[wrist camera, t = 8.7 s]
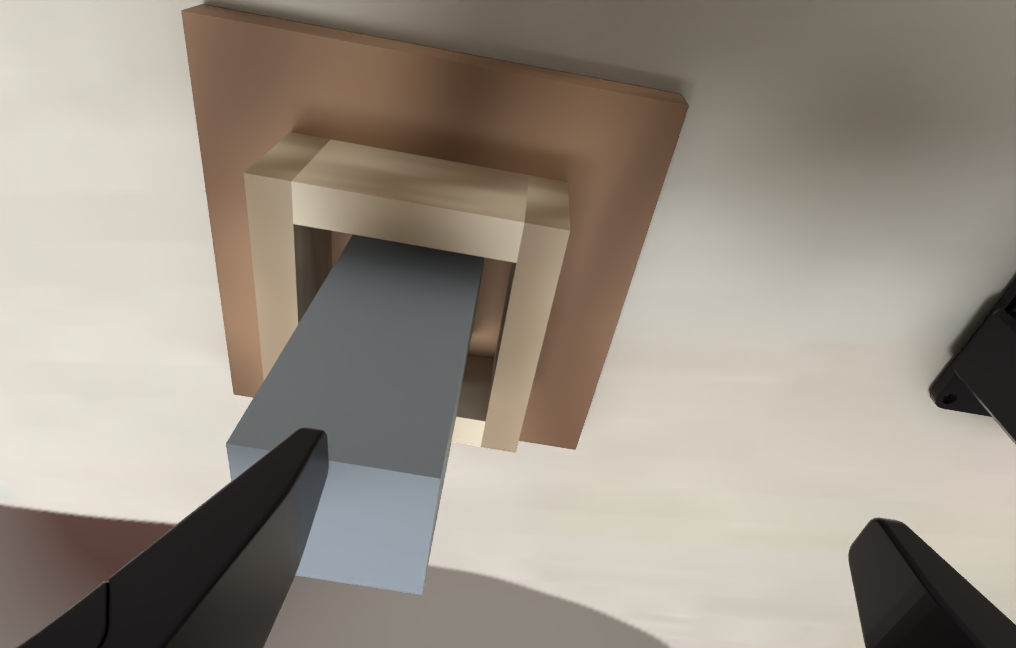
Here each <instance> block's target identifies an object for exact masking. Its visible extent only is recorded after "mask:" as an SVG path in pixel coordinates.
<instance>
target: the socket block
mask: <svg viewBox="0 0 1016 648" xmlns="http://www.w3.org/2000/svg"><path fill="white" fill-rule="evenodd" d="M181 11H182V19H183V26H184V33H185V41H186V48H187V55H188V63H189V70H190V77H191V85H192V92H193V99H194V107H195V114H196V121H197V129H198V136H199V143H200V151H201V158H202V165H203V173H204V180H205V188H206V195H207V202H208V210H209V217H210V224H211V232H212V239H213V246H214V254H215V261H216V268H217V276H218V283H219V290H220V298H221V305H222V312H223V320H224V327H225V334H226V342H227V349H228V356H229V364H230V371H231V378H232V386H233V393H234V394H235V395H241V396H247V397H253V398H254V397H255V395H256V393H257V392H258V390H259V388H260V387H261V385H262V383H263V382H264V380H265V379H266V377H267V375H268V374H269V372H270V370H271V369H272V367H273V365H274V364H275V362H276V360H277V359H278V357H279V355H280V354H281V352H282V350H283V349H284V347H285V346H286V344H287V342H288V341H289V339H290V337H291V336H292V334H293V332H294V331H295V329H296V327H297V326H298V324H299V322H300V321H301V319H302V317H303V316H304V314H305V313H306V311H307V309H308V308H309V306H310V304H311V303H312V301H313V299H314V298H315V296H316V294H317V293H318V291H319V289H320V288H321V286H322V284H323V283H324V281H325V280H326V278H327V276H328V275H329V273H330V271H331V270H332V268H333V266H334V265H335V263H336V261H337V260H338V258H339V256H340V255H341V253H342V251H343V250H344V248H345V246H346V245H347V243H348V242H349V240H350V238H351V237H352V235H353V234H354V235H360V236H365V237H371V238H377V239H382V240H388V241H394V242H400V243H405V244H411V245H417V246H423V247H428V248H434V249H440V250H446V251H451V252H457V253H463V254H468V255H474V256H480V257H485V260H484V266H483V272H482V278H481V283H480V289H479V295H478V301H477V307H476V313H475V319H474V325H473V331H472V337H471V342H470V347H469V352H468V357H467V363H466V368H465V373H464V378H463V384H462V389H461V394H460V399H459V405H458V410H457V415H456V420H455V425H454V431H453V436H452V441H451V442H454V443H460V444H466V445H472V446H479V447H485V448H491V449H497V450H503V451H510V452H516V449H517V445H518V441H525V442H531V443H537V444H543V445H549V446H555V447H562V448H568V449H574V450H576V447H577V444H578V441H579V438H580V435H581V432H582V429H583V426H584V423H585V420H586V417H587V413H588V410H589V407H590V404H591V401H592V398H593V395H594V392H595V389H596V386H597V383H598V380H599V377H600V374H601V371H602V368H603V365H604V362H605V359H606V356H607V353H608V350H609V347H610V344H611V340H612V337H613V334H614V331H615V328H616V325H617V322H618V319H619V316H620V313H621V310H622V307H623V304H624V301H625V298H626V295H627V292H628V289H629V286H630V283H631V280H632V277H633V274H634V271H635V267H636V264H637V261H638V258H639V255H640V252H641V249H642V246H643V243H644V240H645V237H646V234H647V231H648V228H649V225H650V222H651V219H652V216H653V213H654V210H655V207H656V204H657V201H658V198H659V195H660V191H661V188H662V185H663V182H664V179H665V176H666V173H667V170H668V167H669V164H670V161H671V158H672V155H673V152H674V149H675V146H676V143H677V140H678V137H679V134H680V131H681V128H682V125H683V122H684V118H685V115H686V112H687V109H688V106H689V105H688V104H687V102H686V101H685V99H684V98H683V96H682V95H681V94H677V93H672V92H667V91H661V90H656V89H651V88H645V87H640V86H635V85H629V84H624V83H619V82H613V81H608V80H603V79H597V78H592V77H587V76H581V75H576V74H571V73H566V72H560V71H555V70H550V69H544V68H539V67H534V66H528V65H523V64H518V63H512V62H507V61H502V60H496V59H491V58H486V57H480V56H475V55H470V54H465V53H459V52H454V51H449V50H443V49H438V48H433V47H427V46H422V45H417V44H411V43H406V42H401V41H395V40H390V39H385V38H380V37H374V36H369V35H364V34H358V33H353V32H348V31H342V30H337V29H332V28H326V27H321V26H316V25H310V24H305V23H300V22H294V21H289V20H284V19H279V18H273V17H268V16H263V15H257V14H252V13H247V12H241V11H236V10H231V9H225V8H220V7H215V6H209V5H204V4H202V5H198V6H195V7H191V8H188V9H185V10H181Z"/></svg>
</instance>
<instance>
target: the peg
mask: <svg viewBox="0 0 1016 648" xmlns="http://www.w3.org/2000/svg"><path fill="white" fill-rule="evenodd" d="M484 260H485V257H480V256H474V255H468V254H463V253H457V252H451V251H446V250H440V249H434V248H428V247H423V246H417V245H411V244H405V243H400V242H394V241H388V240H382V239H377V238H371V237H365V236H360V235H354V234H353V235H352V237H351V238H350V240H349V242H348V243H347V245H346V246H345V248H344V250H343V251H342V253H341V255H340V256H339V258H338V260H337V261H336V263H335V265H334V266H333V268H332V270H331V271H330V273H329V275H328V276H327V278H326V280H325V281H324V283H323V284H322V286H321V288H320V289H319V291H318V293H317V294H316V296H315V298H314V299H313V301H312V303H311V304H310V306H309V308H308V309H307V311H306V313H305V314H304V316H303V317H302V319H301V321H300V322H299V324H298V326H297V327H296V329H295V331H294V332H293V334H292V336H291V337H290V339H289V341H288V342H287V344H286V346H285V347H284V349H283V350H282V352H281V354H280V355H279V357H278V359H277V360H276V362H275V364H274V365H273V367H272V369H271V370H270V372H269V374H268V375H267V377H266V379H265V380H264V382H263V383H262V385H261V387H260V388H259V390H258V392H257V393H256V395H255V397H254V398H253V400H252V402H251V403H250V405H249V407H248V408H247V410H246V412H245V413H244V415H243V416H242V418H241V420H240V421H239V423H238V425H237V426H236V428H235V430H234V431H233V433H232V435H231V436H230V438H229V440H228V441H227V443H226V447H227V453H228V460H229V467H230V474H231V481H233V480H234V479H235V478H236V477H238V476H239V475H240V474H242V473H243V472H244V471H245V470H247V469H248V468H249V467H250V466H252V465H253V464H254V463H255V462H257V461H258V460H259V459H261V458H262V457H263V456H264V455H266V454H267V453H268V452H269V451H271V450H272V449H273V448H275V447H276V446H277V445H278V444H280V443H281V442H282V441H283V440H285V439H286V438H287V437H288V436H290V435H291V434H292V433H294V432H295V431H296V430H298V429H299V428H302V427H306V428H313V429H319V430H323V431H325V432H326V434H327V438H328V457H329V470H328V475H327V479H326V482H325V486H324V489H323V492H322V495H321V498H320V502H319V505H318V508H317V511H316V514H315V518H314V521H313V524H312V527H311V530H310V534H309V537H308V540H307V543H306V546H305V550H304V553H303V556H302V559H301V562H300V565H299V567H298V570H297V572H296V575H297V576H304V577H310V578H317V579H323V580H330V581H336V582H342V583H349V584H355V585H362V586H369V587H375V588H381V589H388V590H394V591H401V592H407V593H413V594H420V595H422V592H423V588H424V582H425V577H426V572H427V567H428V561H429V556H430V551H431V546H432V541H433V535H434V530H435V525H436V520H437V514H438V509H439V504H440V499H441V493H442V488H443V483H444V478H445V473H446V467H447V462H448V457H449V452H450V446H451V441H452V436H453V431H454V425H455V420H456V415H457V410H458V405H459V399H460V394H461V389H462V384H463V378H464V373H465V368H466V363H467V357H468V352H469V347H470V342H471V337H472V331H473V325H474V319H475V313H476V307H477V301H478V295H479V289H480V283H481V278H482V272H483V266H484Z"/></svg>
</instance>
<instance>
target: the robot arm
mask: <svg viewBox="0 0 1016 648" xmlns="http://www.w3.org/2000/svg"><path fill="white" fill-rule="evenodd" d="M948 394H949V395H948ZM946 395H947V396H946ZM930 397H931V399H932V400H933V401H934V403H935V404H936V405H937V406H938V407H940V408H943V409H949V410H955V411H961V412H966V413H972V414H978V415H984V416H990V417H993V418H994V420H995V421H996V422H997V423H998V424H999V425H1000V427H1001V428H1002V429H1003V430H1004V431H1005V433H1006V434H1007V435H1008V436H1009V437H1010V438H1011V440H1012V441H1013V442H1014V443H1015V444H1016V280H1015V281H1014V282H1013V284H1012V285H1011V286H1010V287H1009V289H1008V290H1007V291H1006V293H1005V294H1004V295H1003V297H1002V298H1001V299H1000V301H999V302H998V303H997V305H996V306H995V307H994V309H993V310H992V311H991V312H990V314H989V315H988V316H987V318H986V319H985V320H984V322H983V323H982V324H981V326H980V327H979V328H978V330H977V331H976V332H975V333H974V335H973V336H972V337H971V339H970V340H969V341H968V343H967V344H966V345H965V347H964V348H963V349H962V351H961V352H960V353H959V355H958V356H957V357H956V358H955V360H954V361H953V362H952V364H951V365H950V366H949V368H948V369H947V370H946V372H945V373H944V374H943V376H942V377H941V378H940V380H939V381H938V382H937V383H936V385H935V386H934V387H933V389H932V390H931V392H930ZM328 470H329V457H328V438H327V434H326V432H325V431H323V430H319V429H313V428H306V427H302V428H299V429H298V430H296V431H295V432H294V433H292V434H291V435H290V436H288V437H287V438H286V439H285V440H283V441H282V442H281V443H280V444H278V445H277V446H276V447H275V448H273V449H272V450H271V451H269V452H268V453H267V454H266V455H264V456H263V457H262V458H261V459H259V460H258V461H257V462H255V463H254V464H253V465H252V466H250V467H249V468H248V469H247V470H245V471H244V472H243V473H242V474H240V475H239V476H238V477H236V478H235V479H234V480H233V481H231V482H230V483H229V484H228V485H226V486H225V487H224V488H222V489H221V490H220V491H219V492H217V493H216V494H215V495H214V496H212V497H211V498H210V499H209V500H207V501H206V502H205V503H203V504H202V505H201V506H200V507H198V508H197V509H196V510H195V511H193V512H192V513H191V514H189V515H188V516H187V517H186V518H184V519H183V520H182V521H181V522H179V523H178V524H177V525H176V526H174V527H173V528H172V529H171V530H169V531H168V532H167V533H165V534H164V535H163V536H162V537H160V538H159V539H158V540H156V541H155V542H154V543H153V544H152V545H150V546H149V547H148V548H146V549H145V550H144V551H143V552H141V553H140V554H139V555H137V556H136V557H135V558H134V559H132V560H131V561H130V562H129V563H127V564H126V565H125V566H124V567H122V568H121V569H120V570H118V571H117V572H116V573H115V574H113V575H112V576H111V577H110V578H109V583H108V582H103V583H102V584H100V585H99V586H98V587H97V588H95V589H94V590H93V591H91V592H90V593H89V594H88V595H86V596H85V597H84V598H83V599H81V600H80V601H79V602H77V603H76V604H75V605H73V606H72V607H71V608H70V609H68V610H67V611H65V612H64V613H63V614H62V615H60V616H59V617H58V618H56V619H55V620H54V621H52V622H51V623H50V624H48V625H47V626H46V627H44V628H43V629H42V630H40V631H39V632H38V633H36V634H35V635H34V636H32V637H30V638H29V639H28V640H26V641H25V642H23V643H22V644H20V645H19V646H18V647H16V648H263V647H264V645H265V643H266V641H267V638H268V636H269V634H270V632H271V629H272V627H273V625H274V622H275V620H276V618H277V616H278V613H279V611H280V609H281V607H282V604H283V602H284V600H285V597H286V595H287V593H288V591H289V588H290V586H291V584H292V582H293V579H294V577H295V575H296V572H297V570H298V567H299V565H300V562H301V559H302V556H303V553H304V550H305V546H306V543H307V540H308V537H309V534H310V530H311V527H312V524H313V521H314V518H315V514H316V511H317V508H318V505H319V502H320V498H321V495H322V492H323V489H324V486H325V482H326V479H327V475H328ZM849 566H850V571H851V576H852V581H853V586H854V591H855V597H856V602H857V607H858V612H859V617H860V622H861V627H862V633H863V638H864V642H865V647H866V648H1016V625H1015V624H1014V623H1013V622H1012V621H1011V620H1010V619H1008V618H1007V617H1006V616H1005V615H1004V614H1003V613H1002V612H1001V611H1000V610H999V609H998V608H996V607H995V606H994V605H993V604H992V603H991V602H990V601H989V600H988V599H987V598H985V597H984V596H983V595H982V594H981V593H980V592H979V591H978V590H977V589H976V588H975V587H973V586H972V585H971V584H970V583H969V582H968V581H967V580H966V579H965V578H964V577H962V576H961V575H960V574H959V573H958V572H957V571H956V570H955V569H954V568H953V567H952V566H950V565H949V564H948V563H947V562H946V561H945V560H944V559H943V558H942V557H941V556H939V555H938V554H937V553H936V552H935V551H934V550H933V549H932V548H931V547H930V546H929V545H927V544H926V543H925V542H924V541H923V540H922V539H921V538H920V537H919V536H918V535H917V534H915V533H914V532H913V531H912V530H911V529H910V528H909V527H908V526H907V525H905V524H904V523H902V522H900V521H897V520H891V519H885V518H874V519H872V520H870V521H869V522H868V524H867V525H866V526H865V528H864V529H863V530H862V532H861V533H860V534H859V536H858V537H857V538H856V539H855V541H854V542H853V543H852V545H851V547H850V550H849Z"/></svg>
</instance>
